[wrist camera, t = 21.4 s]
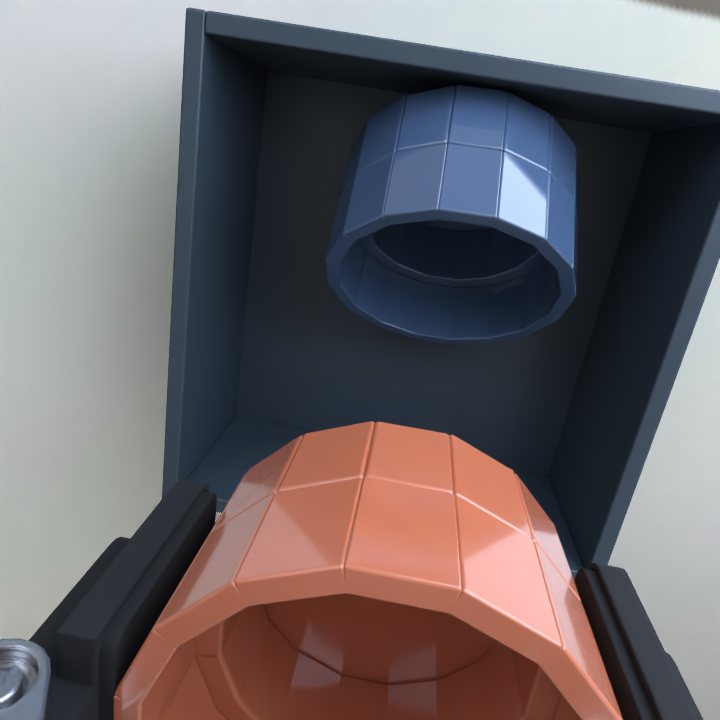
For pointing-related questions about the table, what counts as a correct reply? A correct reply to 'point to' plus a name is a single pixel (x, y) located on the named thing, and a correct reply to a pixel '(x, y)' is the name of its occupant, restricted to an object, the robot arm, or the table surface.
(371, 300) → the faceted blue pot
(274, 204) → the tub
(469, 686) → the terracotta flower pot
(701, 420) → the table surface
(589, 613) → the robot arm
